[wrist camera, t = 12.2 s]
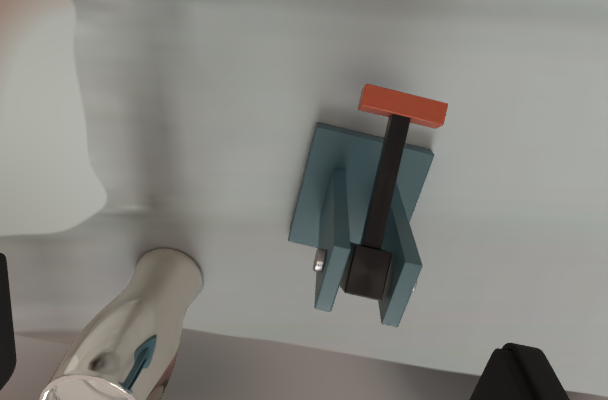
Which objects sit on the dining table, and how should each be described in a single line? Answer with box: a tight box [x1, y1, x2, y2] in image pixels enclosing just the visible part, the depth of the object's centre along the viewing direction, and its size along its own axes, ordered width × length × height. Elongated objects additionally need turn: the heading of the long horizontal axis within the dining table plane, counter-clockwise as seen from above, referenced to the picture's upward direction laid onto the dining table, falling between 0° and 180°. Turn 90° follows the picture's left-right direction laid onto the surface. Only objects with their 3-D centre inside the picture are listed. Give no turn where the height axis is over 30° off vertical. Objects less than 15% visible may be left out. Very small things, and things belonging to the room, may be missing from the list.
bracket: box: [288, 123, 434, 327], centre depth 32 cm, size 10×9×13 cm
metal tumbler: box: [40, 248, 203, 400], centre depth 36 cm, size 7×7×15 cm
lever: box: [340, 84, 448, 301], centre depth 28 cm, size 12×5×2 cm, turn 167°
